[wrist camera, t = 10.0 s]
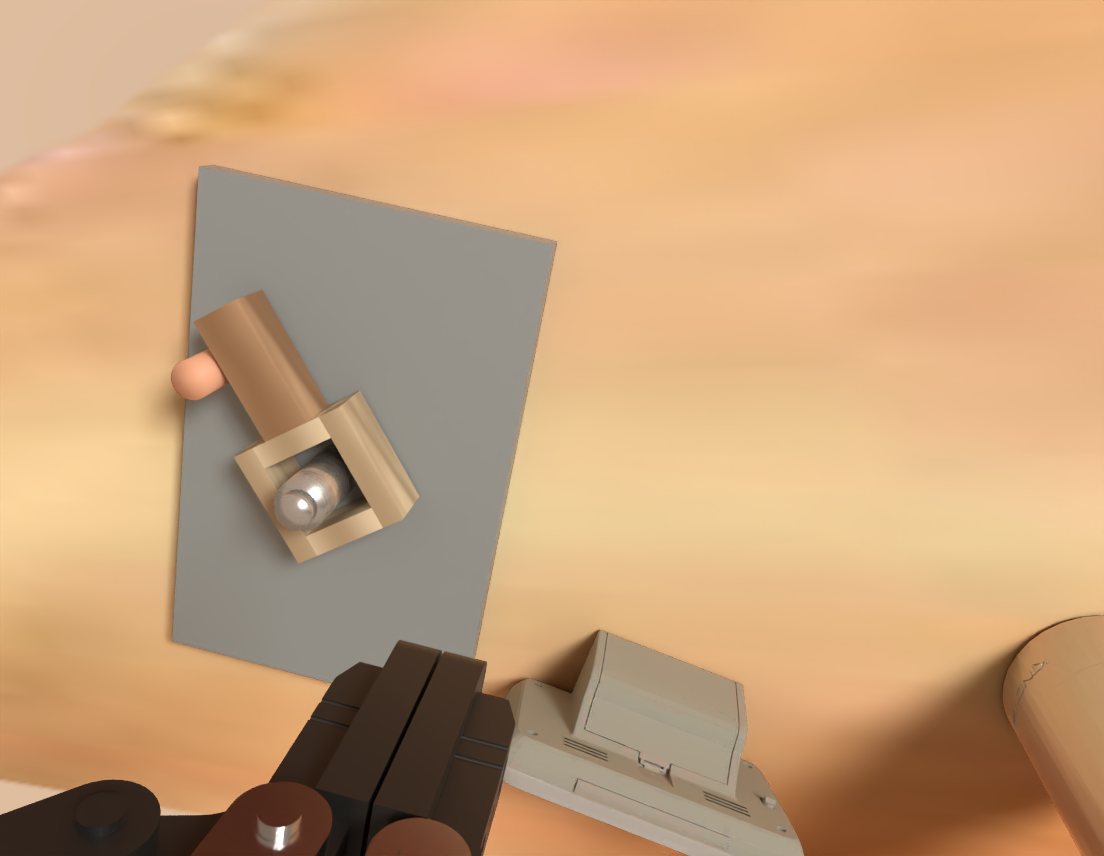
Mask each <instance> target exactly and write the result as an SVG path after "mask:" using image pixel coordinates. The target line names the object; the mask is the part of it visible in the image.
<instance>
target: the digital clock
mask: <svg viewBox="0 0 1104 856" xmlns="http://www.w3.org/2000/svg"><path fill="white" fill-rule="evenodd" d="M505 699H506V700H509V702H510V706H511V709H512V713H513V716H514V720H515V723H516V724H515V729H514V733H513V738H512V742H511V747H510V751H509V756H508V760H507V764H506V769H505V773H504V778H503V781H504V782H505V783H507V784H509V785H511V786H513V787H516V788H518V789H520V790H523V791H525V792H528V793H530V794H533V795H535V796H538V797H540V798H543V799H545V800H548V801H550V802H553V803H555V804H558V805H560V806H563V807H566V808H568V809H571V810H573V811H576V812H578V813H581V814H584V815H586V816H589V817H591V818H594V819H596V820H599V821H602V822H604V823H607V824H609V825H612V826H614V827H617V828H620V829H622V830H625V831H627V832H630V833H632V834H635V835H638V836H640V837H643V838H645V839H648V840H650V841H653V842H656V843H658V844H661V845H663V846H666V847H668V848H671V849H674V850H676V851H679V852H681V853H684V854H686V855H689V856H804V853H803V849H802V846H801V843H800V841H799V838H798V836H797V834H796V832H795V830H794V828H793V827H792V825H791V823H790V821H789V819H788V818H787V816H786V814H785V812H784V811H783V809H782V807H781V805H780V804H779V802H778V800H777V798H776V797H775V795H774V793H773V791H772V789H771V788H770V786H769V784H768V782H767V781H766V779H765V777H764V776H763V774H762V773H761V771H760V770H759V769H758V768H757V767H756V766H755V765H753V764H751V763H749V762H747V761H744V760H742V759H741V754H742V751H743V747H744V744H745V741H746V737H747V717H746V707H745V698H744V689H743V685H742V684H740V683H738V682H735V681H732V680H730V679H727V678H725V677H722V676H719V675H717V674H714V673H712V672H709V671H706V670H704V669H701V668H699V667H696V666H693V665H691V664H688V663H686V662H683V661H680V660H678V659H675V658H673V657H670V656H667V655H665V654H662V653H660V652H657V651H654V650H652V649H649V648H647V647H644V646H641V645H639V644H636V643H634V642H631V641H628V640H626V639H623V638H621V637H618V636H615V635H613V634H610V633H607V632H605V631H602V630H599V631H598V633H597V635H596V638H595V640H594V642H593V644H592V647H591V649H590V651H589V654H588V656H587V658H586V661H585V663H584V665H583V668H582V670H581V672H580V675H579V677H578V679H577V681H576V684H575V686H574V688H573V691H572V693H569V692H567V691H564V690H561V689H559V688H556V687H553V686H551V685H548V684H545V683H543V682H540V681H537V680H534V679H525V680H523V681H520V682H519V683H517V684H516V685H514V686H513V687H512V688H511V689H510V690H509V692H508V694H507V695H506V698H505Z"/></svg>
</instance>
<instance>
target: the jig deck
mask: <svg viewBox="0 0 1104 856" xmlns="http://www.w3.org/2000/svg"><path fill="white" fill-rule="evenodd" d="M556 245H557V241H553V240H548V239H544V238H539V237H535V236H530V235H526V234H521V233H517V232H512V231H508V230H503V229H499V228H494V227H490V226H485V225H481V224H476V223H472V222H467V221H463V220H458V219H454V218H449V217H445V216H440V215H436V214H431V213H427V212H422V211H418V210H413V209H409V208H404V207H400V206H395V205H391V204H386V203H382V202H377V201H373V200H368V199H364V198H359V197H355V196H350V195H346V194H341V193H337V192H332V191H328V190H323V189H319V188H314V187H310V186H305V185H301V184H297V183H292V182H288V181H283V180H279V179H274V178H270V177H265V176H261V175H256V174H252V173H247V172H243V171H238V170H234V169H229V168H225V167H220V166H216V165H210V166H199V173H198V191H197V209H196V226H195V244H194V262H193V280H192V298H191V316H190V333H189V351H188V358H190V357H192V356H194V355H196V354H199V353H201V352H203V351H205V350H207V349H209V348H208V346H207V345H206V343H205V341H204V340H203V338H202V336H201V335H200V333H199V331H198V330H197V328H196V326H195V325H194V323H193V322H194V321H196V320H198V319H200V318H202V317H203V316H205V315H207V314H209V313H211V312H213V311H215V310H217V309H218V308H220V307H222V306H224V305H226V304H228V303H230V302H232V301H233V300H236V299H239V298H241V297H244V296H246V295H249V294H252V293H254V292H257V291H260V290H263V292H264V294H265V296H266V297H267V299H268V301H269V303H270V304H271V306H272V308H273V310H274V311H275V313H276V315H277V316H278V318H279V320H280V322H281V323H282V325H283V327H284V329H285V330H286V332H287V334H288V336H289V337H290V339H291V341H292V343H293V344H294V346H295V348H296V350H297V351H298V353H299V355H300V357H301V358H302V360H303V362H304V363H305V365H306V367H307V369H308V370H309V372H310V374H311V376H312V377H313V379H314V381H315V383H316V384H317V386H318V388H319V390H320V391H321V393H322V395H323V397H324V398H325V400H326V402H327V404H328V405H330V404H332V403H334V402H336V401H338V400H341V399H343V398H345V397H347V396H349V395H351V394H353V393H355V392H357V391H359V390H360V391H361V393H362V395H363V397H364V398H365V400H366V402H367V404H368V405H369V407H370V409H371V411H372V413H373V414H374V416H375V418H376V420H377V421H378V423H379V425H380V427H381V429H382V430H383V432H384V434H385V436H386V437H387V439H388V441H389V443H390V445H391V446H392V448H393V450H394V452H395V453H396V455H397V457H398V459H399V461H400V462H401V464H402V466H403V468H404V469H405V471H406V473H407V475H408V477H409V478H410V480H411V482H412V484H413V485H414V487H415V489H416V491H417V493H418V494H419V498H418V499H417V501H416V502H415V503H414V505H413V506H412V508H411V509H410V510H409V512H408V513H407V514H406V516H405V517H404V519H403V520H401V521H398V522H396V523H393V524H391V525H389V526H386V527H384V528H382V529H379V530H377V531H375V532H372V533H370V534H368V535H365V536H363V537H360V538H358V539H356V540H353V541H351V542H349V543H346V544H344V545H342V546H339V547H337V548H334V549H332V550H330V551H327V552H325V553H323V554H320V555H318V556H316V557H313V558H311V559H309V560H306V561H304V562H301V563H298V562H297V560H296V558H295V557H294V555H293V553H292V552H291V550H290V548H289V547H288V545H287V544H286V542H285V540H284V539H283V537H282V535H281V534H280V532H279V531H278V529H277V527H276V526H275V524H274V522H273V521H272V519H271V517H270V516H269V514H268V513H267V511H266V509H265V508H264V506H263V504H262V503H261V501H260V499H259V498H258V496H257V495H256V493H255V491H254V490H253V488H252V486H251V485H250V483H249V481H248V480H247V478H246V477H245V475H244V473H243V472H242V470H241V468H240V467H239V465H238V464H237V462H236V460H235V459H234V457H235V456H236V455H237V454H239V453H240V452H241V451H243V450H244V449H246V448H247V447H248V446H250V445H251V444H252V443H254V442H255V441H257V440H258V439H259V438H261V437H262V436H261V435H260V433H259V431H258V430H257V428H256V426H255V425H254V423H253V421H252V420H251V418H250V416H249V415H248V413H247V411H246V410H245V408H244V406H243V405H242V403H241V401H240V400H239V398H238V396H237V395H236V393H235V391H234V390H233V388H232V386H231V385H230V383H228V384H227V385H225V386H223V387H221V388H220V389H218V390H216V391H214V392H212V393H211V394H209V395H207V396H205V397H203V398H202V399H199V400H189V399H186V405H185V422H184V440H183V458H182V476H181V494H180V512H179V529H178V547H177V565H176V583H175V601H174V619H173V636H172V641H173V642H177V643H181V644H185V645H188V646H192V647H196V648H200V649H204V650H208V651H211V652H215V653H219V654H223V655H227V656H230V657H234V658H238V659H242V660H246V661H250V662H253V663H257V664H261V665H265V666H269V667H272V668H276V669H280V670H284V671H288V672H292V673H295V674H299V675H303V676H307V677H311V678H314V679H318V680H322V681H326V682H330V683H332V682H333V681H334V679H335V678H336V677H337V676H338V675H340V674H341V673H343V672H344V671H346V670H348V669H349V668H351V667H352V666H354V665H355V664H357V663H358V662H363V663H367V664H371V665H375V666H378V667H382V668H383V666H384V665H385V663H386V661H387V659H388V657H389V656H390V654H391V652H392V650H393V649H394V647H395V645H396V643H397V642H398V641H399V640H403V641H407V642H411V643H415V644H419V645H423V646H427V647H431V648H434V649H438V650H442V654H443V653H444V651H447V652H451V653H455V654H459V655H462V656H466V657H470V658H474V659H475V655H476V650H477V645H478V640H479V635H480V630H481V625H482V619H483V614H484V609H485V604H486V599H487V594H488V589H489V584H490V579H491V574H492V569H493V564H494V559H495V554H496V549H497V544H498V539H499V534H500V529H501V523H502V518H503V513H504V508H505V503H506V498H507V493H508V488H509V483H510V478H511V473H512V468H513V463H514V458H515V453H516V448H517V443H518V438H519V432H520V427H521V422H522V417H523V412H524V407H525V402H526V397H527V392H528V387H529V382H530V377H531V372H532V367H533V362H534V357H535V352H536V347H537V341H538V336H539V331H540V326H541V321H542V316H543V311H544V306H545V301H546V296H547V291H548V286H549V281H550V276H551V271H552V266H553V261H554V256H555V250H556ZM333 443H334V442H333V441H332V439H331V438H330V439H328V440H325V441H323V442H321V443H319V444H317V445H315V446H313V447H310V448H308V449H306V450H304V451H302V452H300V453H297V454H295V455H294V457H295V459H296V460H297V462H298V464H299V465H300V467H301V468H302V467H303V466H305V465H306V464H307V463H308V462H309V461H310V460H311V459H313V458H314V457H315V456H316V455H317V454H318V453H319V452H320V451H322V450H323V449H324V448H325V447H326V446H328V445H330V444H333ZM363 497H365V496H364V494H363V492H362V491H361V489H360V487H359V486H358V484H357V485H356V486H355V487H354V488H353V489H352V490H351V491H350V492H349V493H348V494H347V496H346V497H345V498H344V499H343V500H342V501H341V502H340V503H339V504H338V505H337V506H336V507H335V509H337V508H340V507H342V506H344V505H347V504H349V503H351V502H353V501H356V500H358V499H360V498H363ZM335 509H334V510H335Z"/></svg>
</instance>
